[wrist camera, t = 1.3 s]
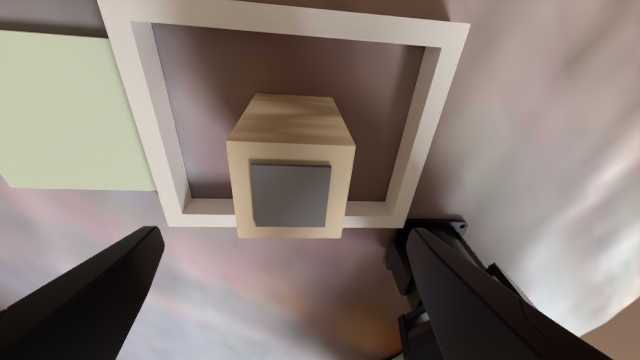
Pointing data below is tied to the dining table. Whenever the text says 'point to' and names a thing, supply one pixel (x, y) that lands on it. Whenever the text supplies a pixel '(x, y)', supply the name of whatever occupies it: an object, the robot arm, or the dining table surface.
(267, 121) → the birch parts box
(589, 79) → the dining table surface
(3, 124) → the sage pad
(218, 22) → the white rectangular frame
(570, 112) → the dining table surface
